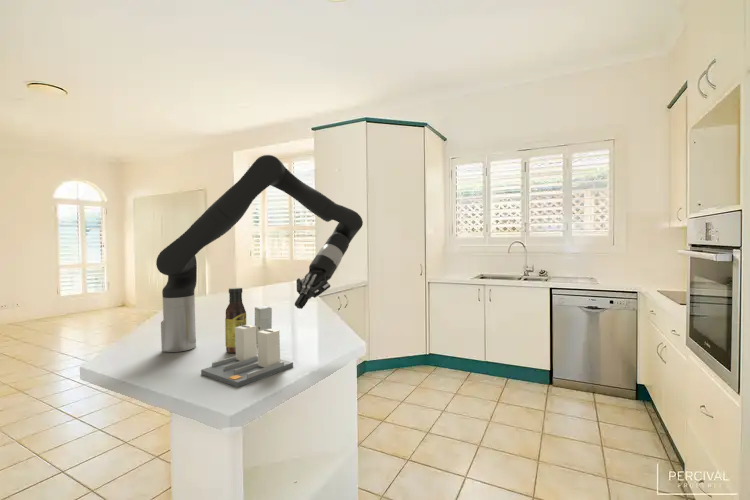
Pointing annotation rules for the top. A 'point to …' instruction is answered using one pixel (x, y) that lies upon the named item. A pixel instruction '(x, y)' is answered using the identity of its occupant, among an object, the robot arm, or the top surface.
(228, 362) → the switch board
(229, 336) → the sauce bottle
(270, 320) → the skincare box
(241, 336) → the tab
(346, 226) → the robot arm
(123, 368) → the top surface
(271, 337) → the tab
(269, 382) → the top surface
